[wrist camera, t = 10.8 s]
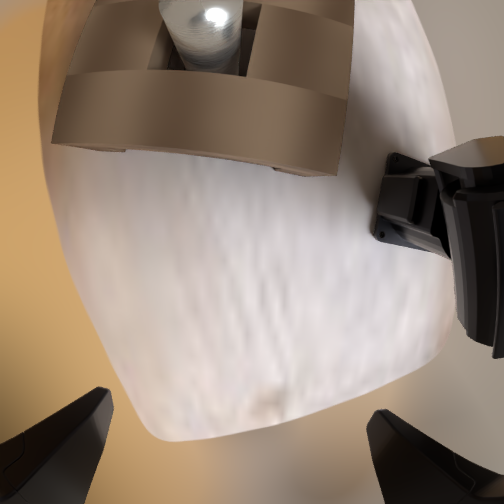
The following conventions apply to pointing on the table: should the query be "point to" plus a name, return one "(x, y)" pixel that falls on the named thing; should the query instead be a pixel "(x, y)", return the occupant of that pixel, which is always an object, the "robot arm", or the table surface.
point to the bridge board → (214, 87)
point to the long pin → (205, 33)
